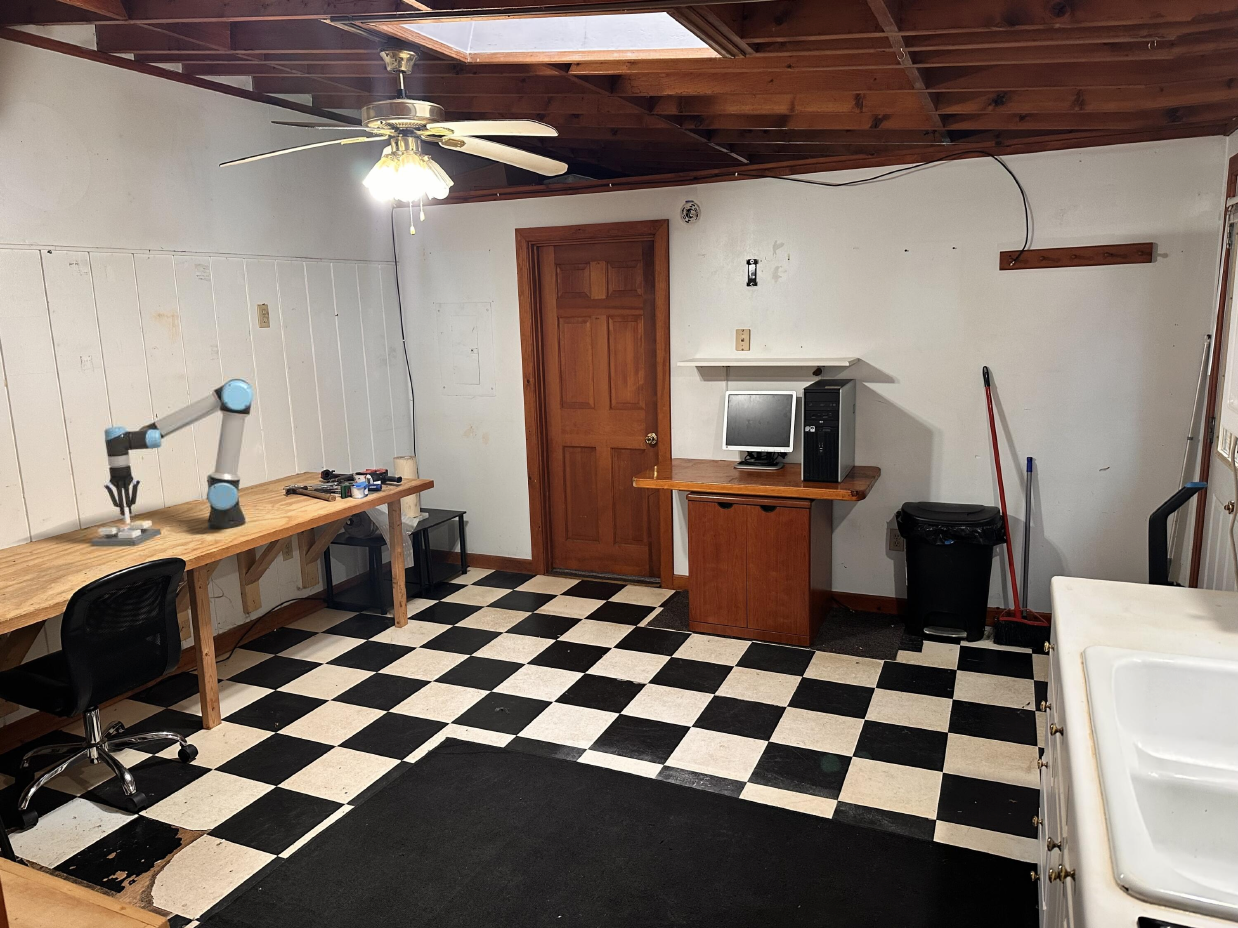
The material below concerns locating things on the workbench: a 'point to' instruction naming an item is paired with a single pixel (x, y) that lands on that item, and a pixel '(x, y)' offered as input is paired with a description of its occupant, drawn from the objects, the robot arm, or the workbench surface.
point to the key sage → (110, 531)
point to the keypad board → (126, 539)
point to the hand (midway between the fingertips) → (127, 522)
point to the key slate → (129, 534)
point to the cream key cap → (140, 525)
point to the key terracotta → (124, 528)
